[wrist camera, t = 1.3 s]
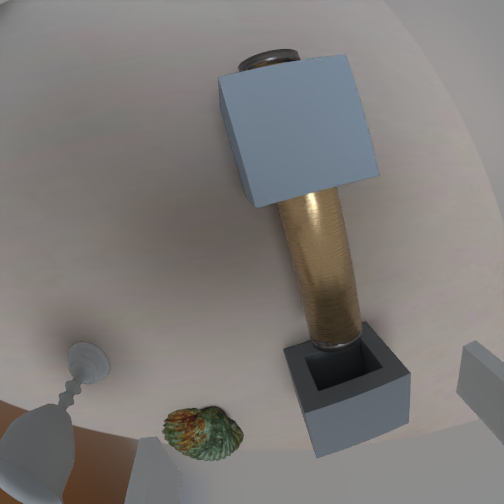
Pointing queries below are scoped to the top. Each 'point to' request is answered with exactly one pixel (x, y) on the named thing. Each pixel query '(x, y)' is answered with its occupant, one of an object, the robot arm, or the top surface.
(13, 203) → the top surface
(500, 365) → the robot arm
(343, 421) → the socket
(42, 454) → the chalice
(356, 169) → the blue-grey cube-like block
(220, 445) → the seashell
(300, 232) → the slip tube
